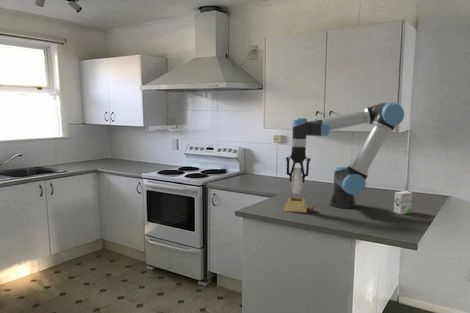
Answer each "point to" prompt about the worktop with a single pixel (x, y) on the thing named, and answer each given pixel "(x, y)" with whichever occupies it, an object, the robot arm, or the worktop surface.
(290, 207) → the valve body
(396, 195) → the ink box
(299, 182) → the pipe stub
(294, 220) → the worktop surface
